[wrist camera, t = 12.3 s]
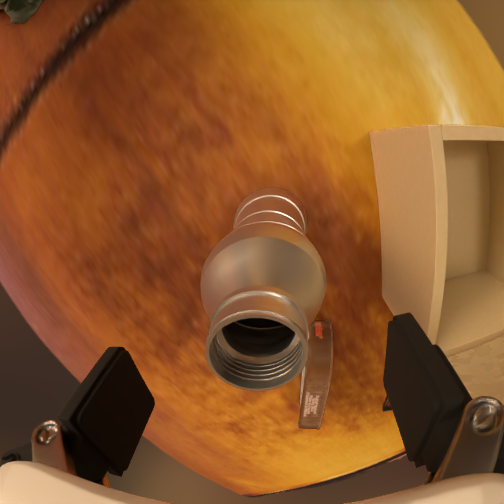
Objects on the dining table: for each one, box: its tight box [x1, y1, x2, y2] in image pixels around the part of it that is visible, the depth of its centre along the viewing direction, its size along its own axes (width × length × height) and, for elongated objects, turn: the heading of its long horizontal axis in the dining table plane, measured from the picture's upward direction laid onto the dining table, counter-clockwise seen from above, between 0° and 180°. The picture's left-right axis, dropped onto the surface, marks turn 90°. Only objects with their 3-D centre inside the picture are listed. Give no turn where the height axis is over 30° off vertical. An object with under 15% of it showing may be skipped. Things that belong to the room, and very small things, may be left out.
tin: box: [298, 320, 334, 430], centre depth 30 cm, size 15×3×8 cm, turn 2°
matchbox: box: [383, 398, 392, 412], centre depth 36 cm, size 5×5×1 cm
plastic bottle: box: [200, 187, 327, 391], centre depth 19 cm, size 6×7×20 cm
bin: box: [369, 124, 504, 357], centre depth 20 cm, size 18×16×12 cm
